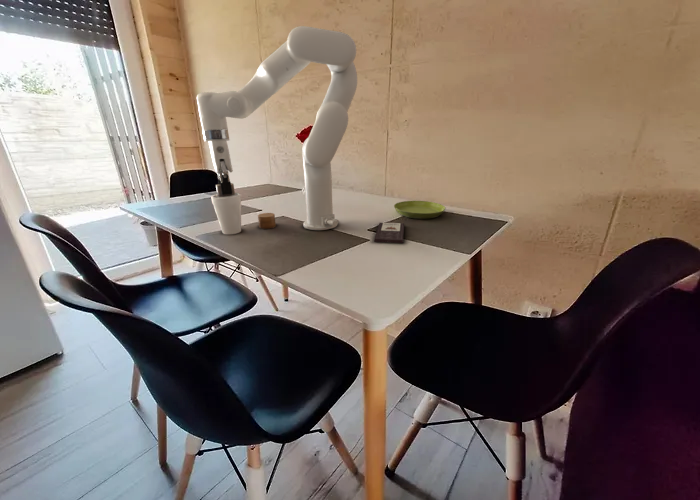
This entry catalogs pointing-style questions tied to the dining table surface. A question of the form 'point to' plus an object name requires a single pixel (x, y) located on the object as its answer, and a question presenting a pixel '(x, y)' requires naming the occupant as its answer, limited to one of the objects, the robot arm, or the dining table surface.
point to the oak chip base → (267, 225)
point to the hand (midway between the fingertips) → (226, 192)
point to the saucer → (419, 209)
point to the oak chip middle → (266, 217)
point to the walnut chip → (221, 191)
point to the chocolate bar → (390, 233)
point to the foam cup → (228, 212)
